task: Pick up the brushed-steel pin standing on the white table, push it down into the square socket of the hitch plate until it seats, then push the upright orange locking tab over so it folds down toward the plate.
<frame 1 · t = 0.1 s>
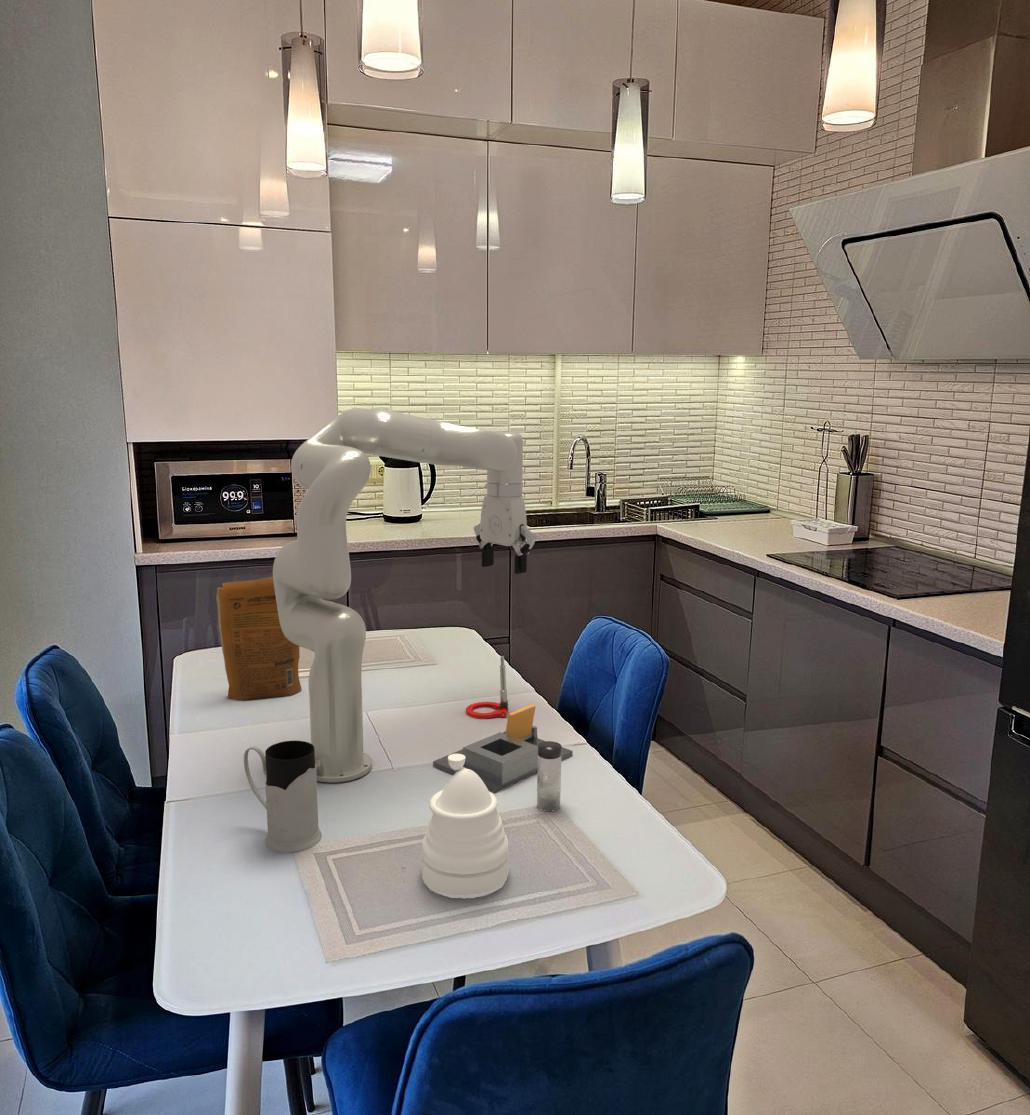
hand: (503, 569, 195), 31 cm above the table, fingers open, 9 cm apart
honey pot: (465, 876, 134), on the table
tow hook: (486, 713, 198), on the table
hitch plate: (503, 761, 173), on the table
pin: (548, 805, 156), on the table
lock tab: (519, 726, 177), point 5 cm above the table, hinge at -10.0°
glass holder: (280, 835, 145), on the table
pancake mix bag: (265, 697, 206), on the table
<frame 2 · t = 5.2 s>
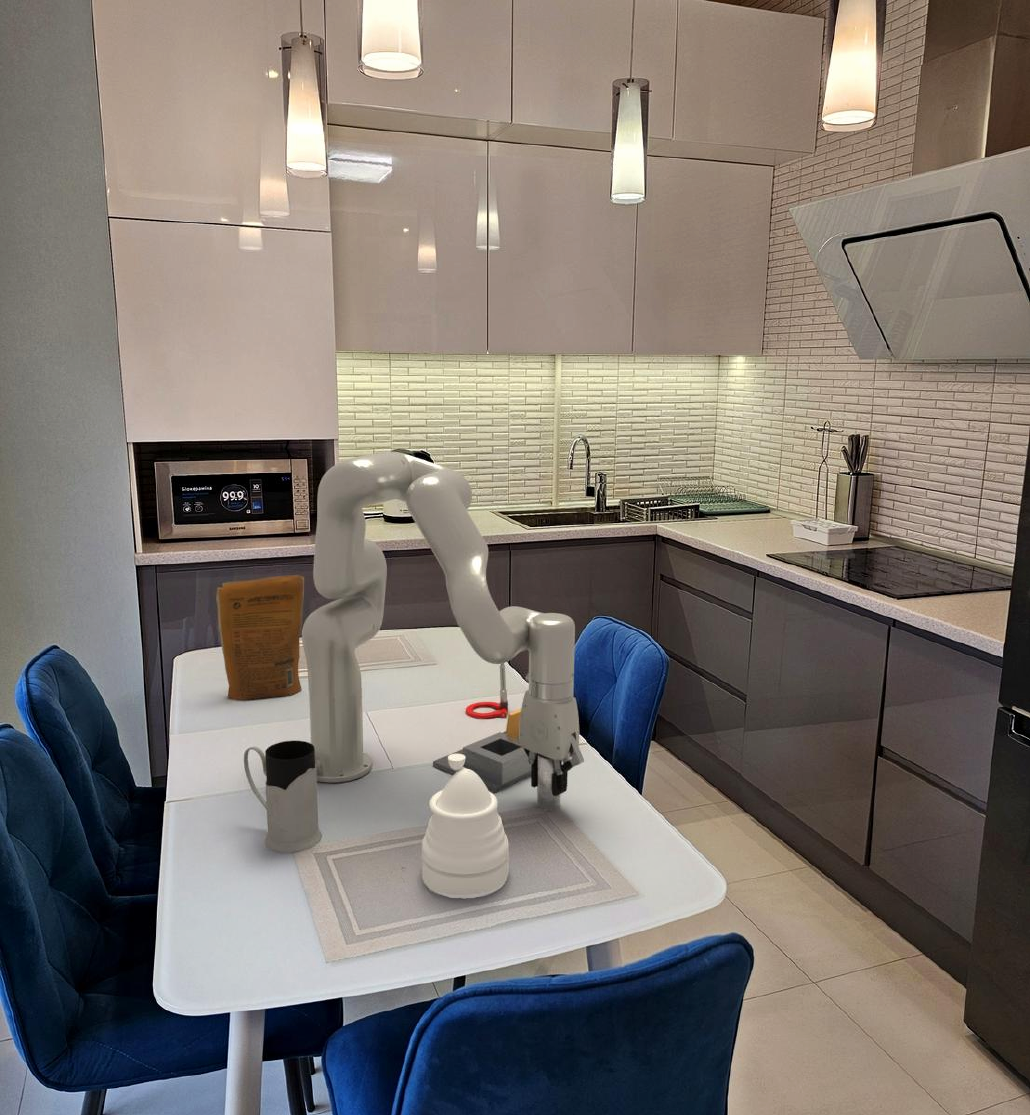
hand: (548, 788, 155), 3 cm above the table, fingers closed on pin, 4 cm apart
pin: (548, 805, 156), on the table, touching gripper
everything else where it was.
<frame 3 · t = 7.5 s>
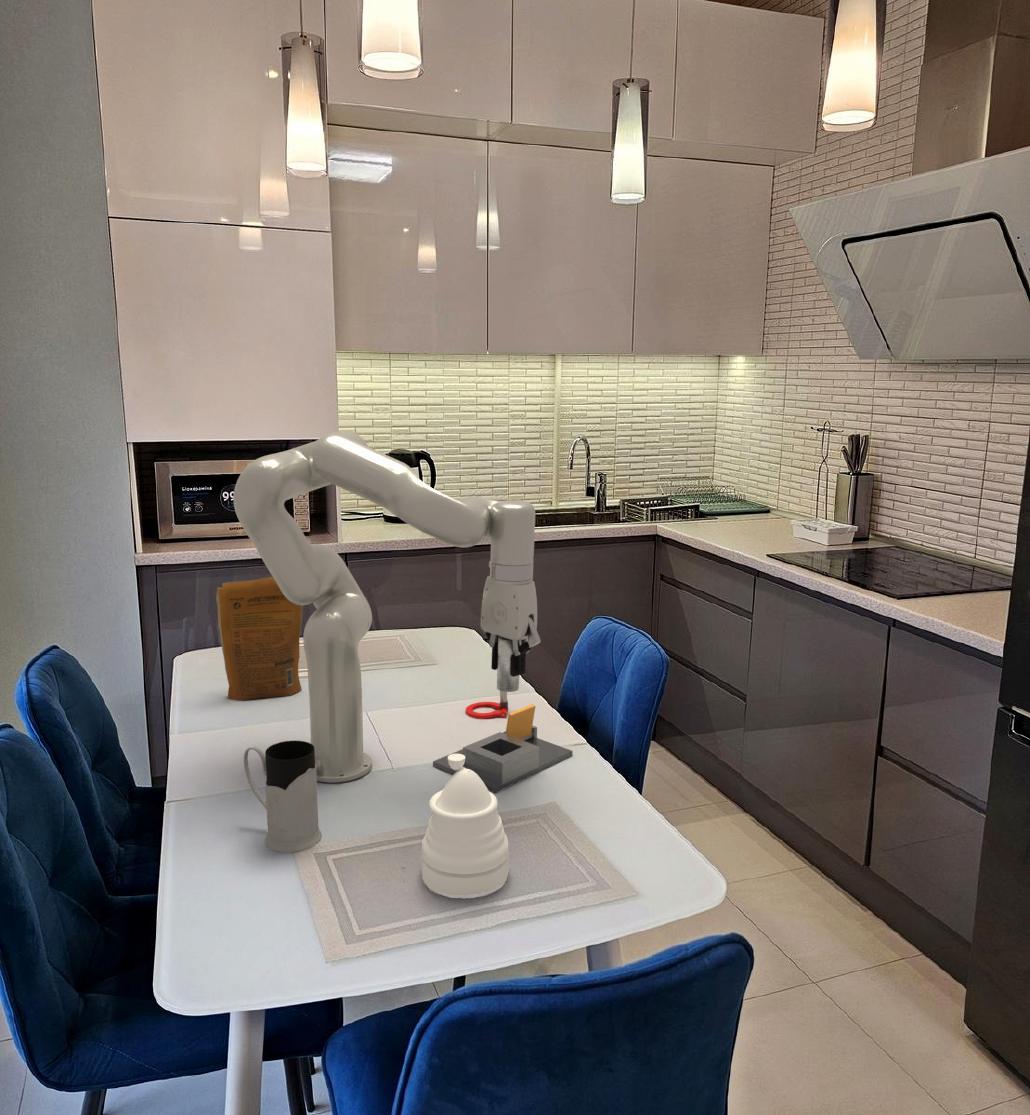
hand: (508, 670, 162), 21 cm above the table, fingers closed on pin, 4 cm apart
pin: (507, 688, 162), point 17 cm above the table, touching gripper
everything else where it was.
when the fingers open (6 cm above the table, at t = 10.0 s): pin drops 1 cm, resting on hitch plate.
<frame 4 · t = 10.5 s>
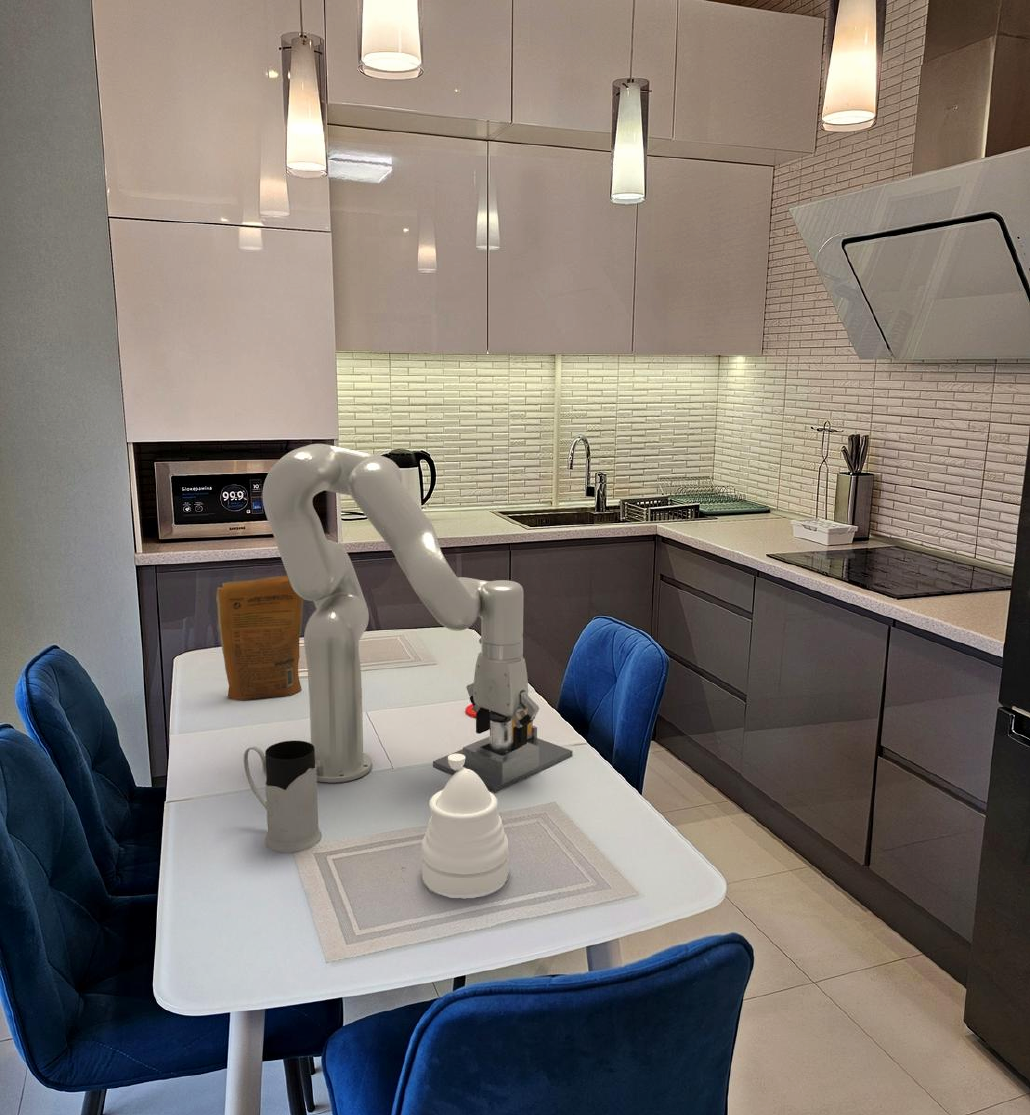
hand: (501, 738, 167), 7 cm above the table, fingers open, 9 cm apart
pin: (500, 767, 168), point 1 cm above the table, touching hitch plate
everything else where it was.
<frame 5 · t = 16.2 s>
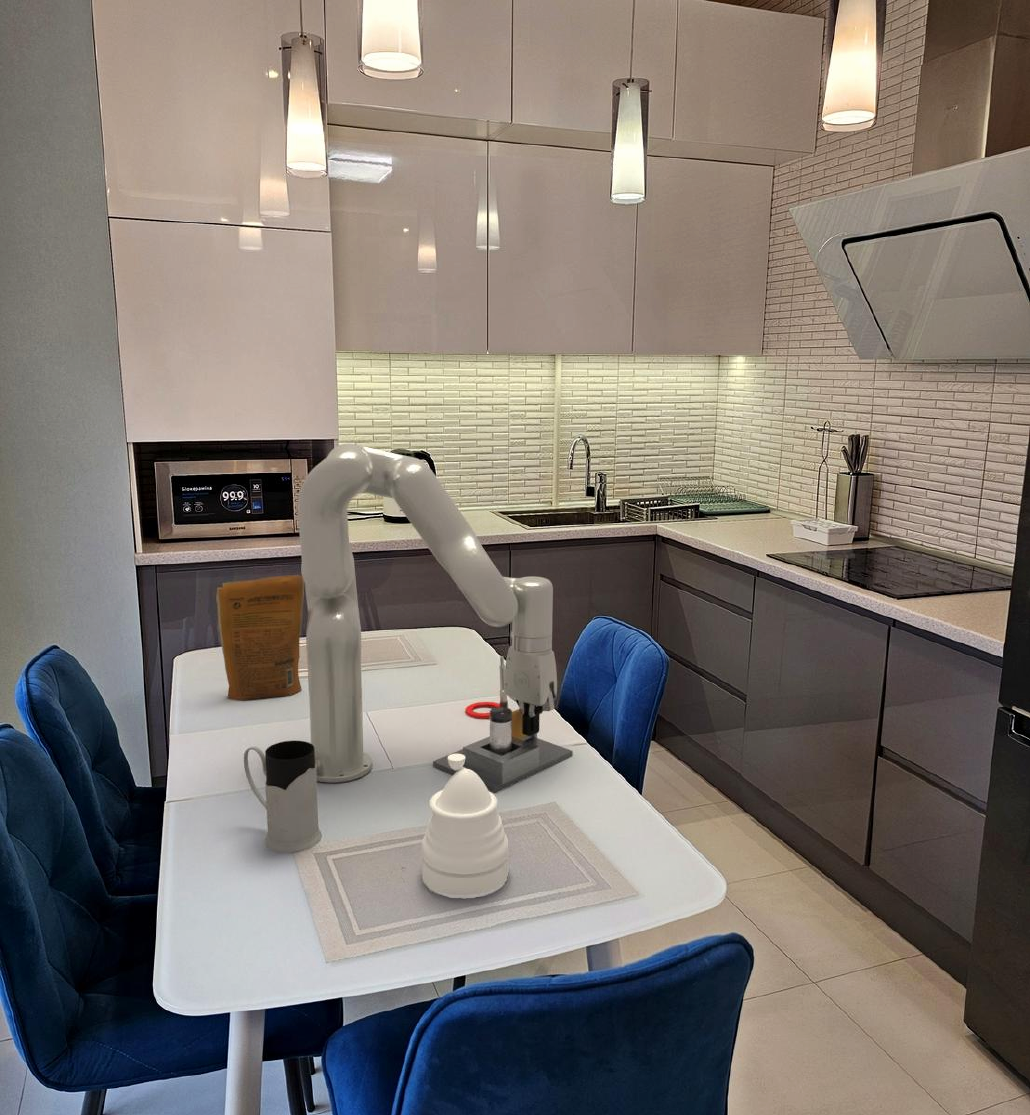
hand: (530, 733, 175), 5 cm above the table, fingers closed
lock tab: (519, 726, 178), point 5 cm above the table, hinge at -8.9°, touching gripper
everything else where it was.
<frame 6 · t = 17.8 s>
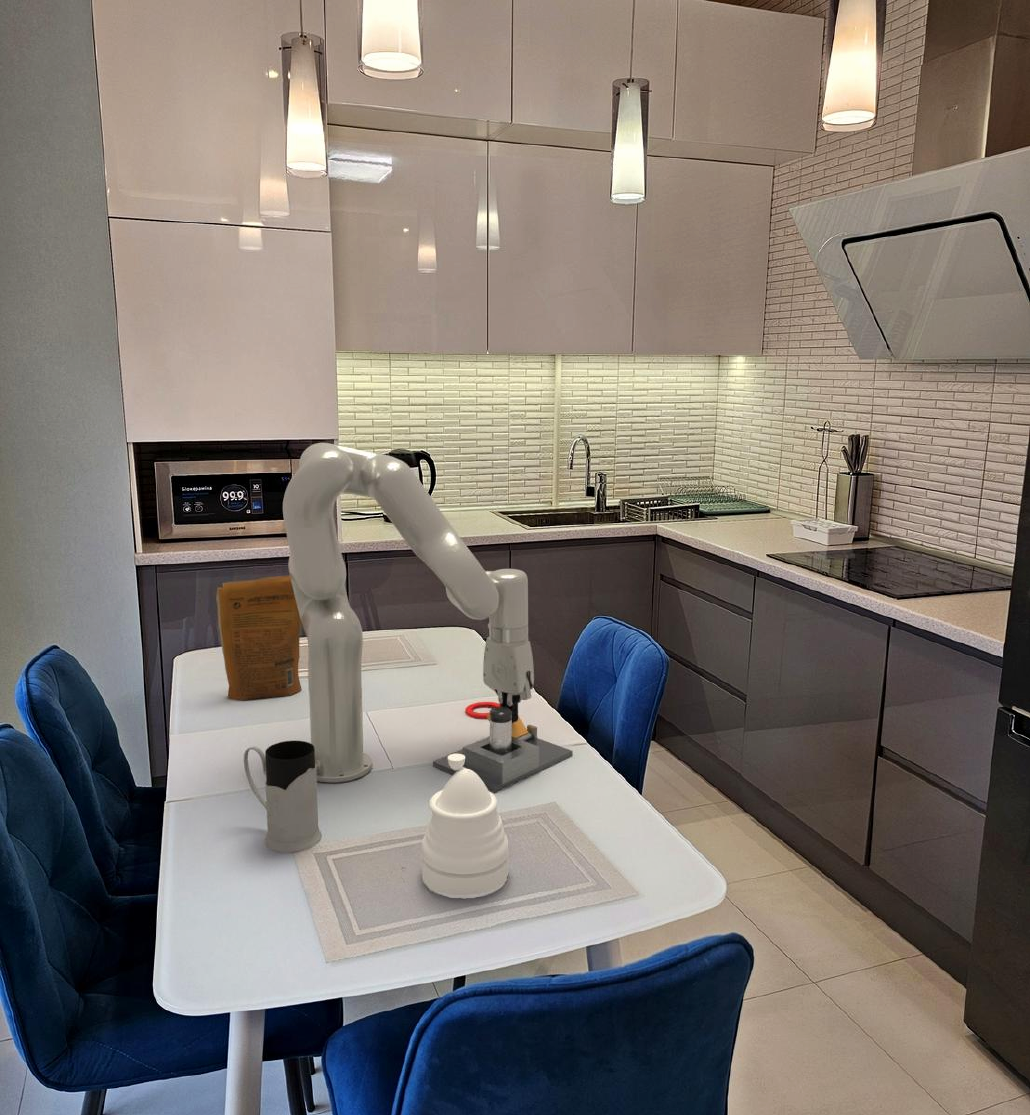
hand: (509, 721, 179), 5 cm above the table, fingers closed
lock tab: (508, 726, 180), point 4 cm above the table, hinge at 44.1°, touching gripper
everything else where it was.
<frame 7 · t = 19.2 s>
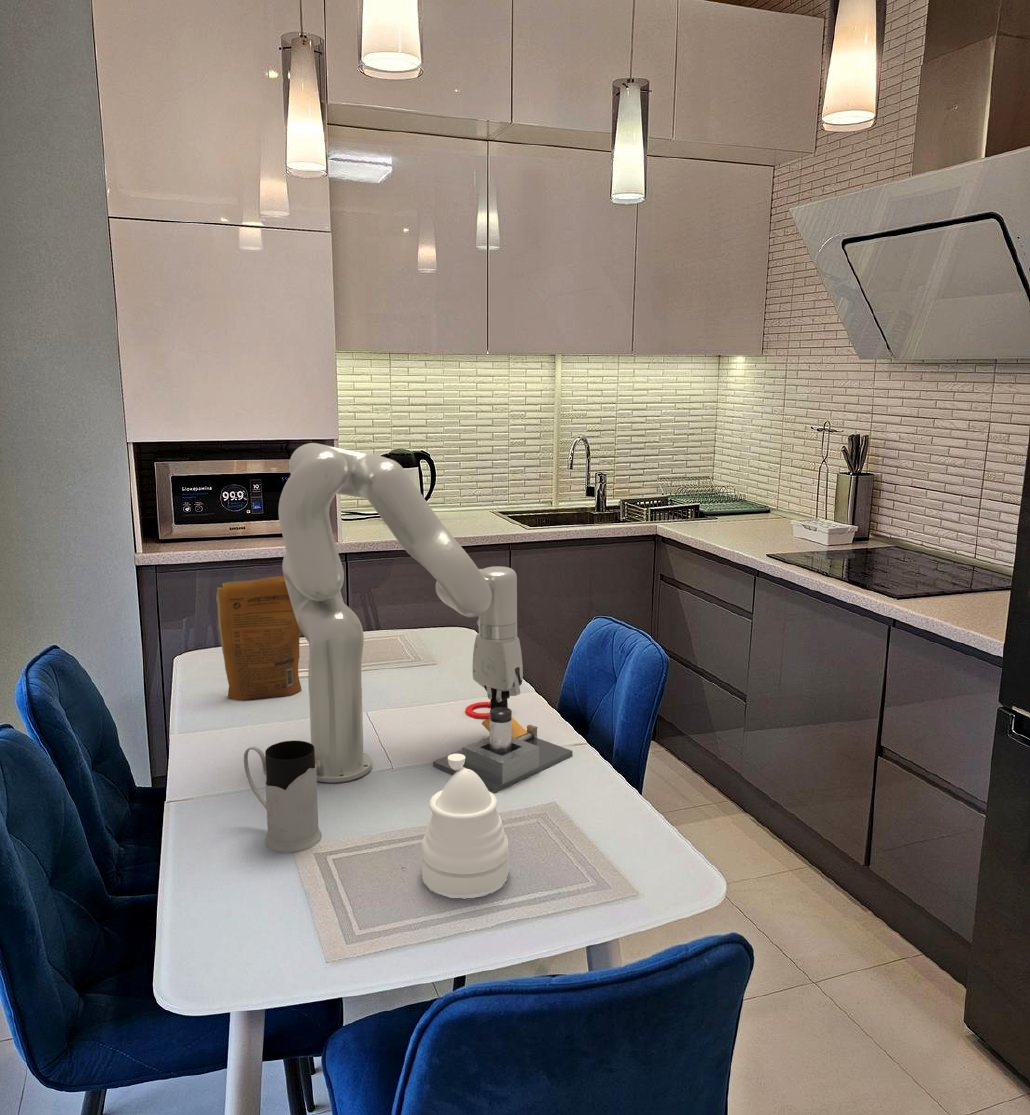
hand: (498, 717, 181), 5 cm above the table, fingers closed
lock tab: (506, 730, 180), point 3 cm above the table, hinge at 62.9°, touching gripper
everything else where it was.
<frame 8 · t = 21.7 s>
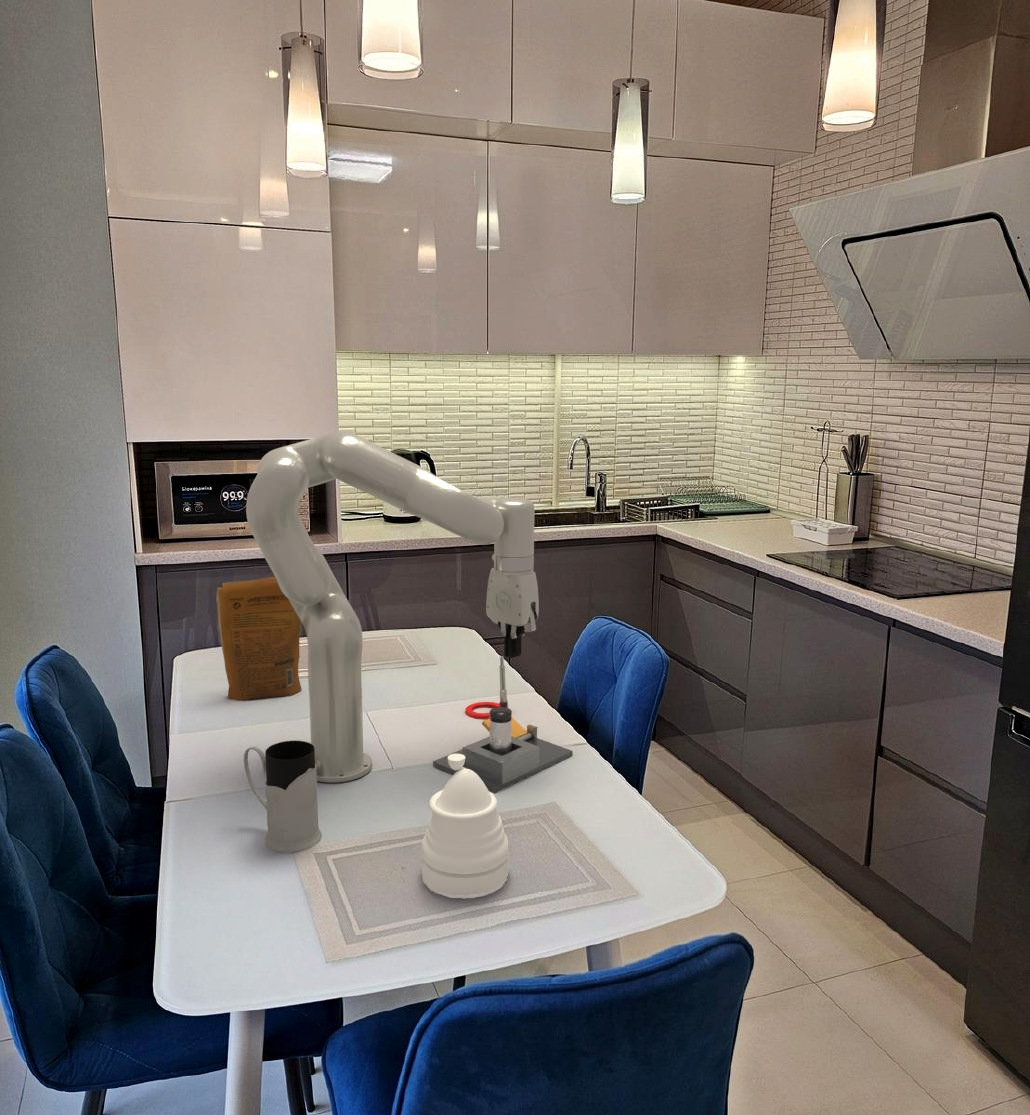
hand: (512, 655, 175), 19 cm above the table, fingers closed
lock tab: (506, 730, 180), point 3 cm above the table, hinge at 63.1°
everything else where it was.
at the end: pin 0.1 cm from the target spot on the hitch plate, point 1.0 cm above the hitch plate's base; pin tilted 0°; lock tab at +63° (first picture: -10°) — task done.
